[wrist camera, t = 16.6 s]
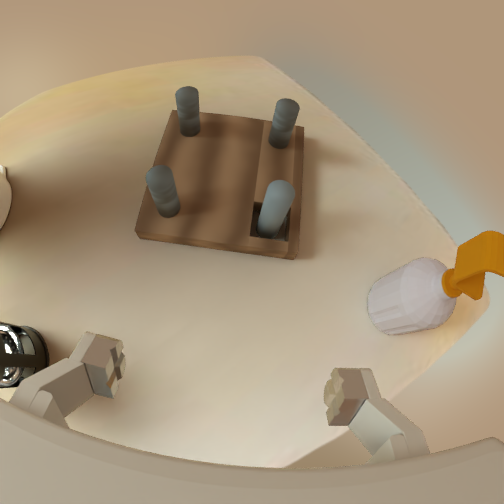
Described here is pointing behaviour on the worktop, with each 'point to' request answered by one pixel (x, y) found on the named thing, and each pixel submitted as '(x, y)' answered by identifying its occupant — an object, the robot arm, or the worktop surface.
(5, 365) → the french press
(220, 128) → the stool
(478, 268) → the white orange spray bottle
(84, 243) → the worktop surface
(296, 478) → the robot arm
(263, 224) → the stool leg
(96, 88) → the worktop surface
